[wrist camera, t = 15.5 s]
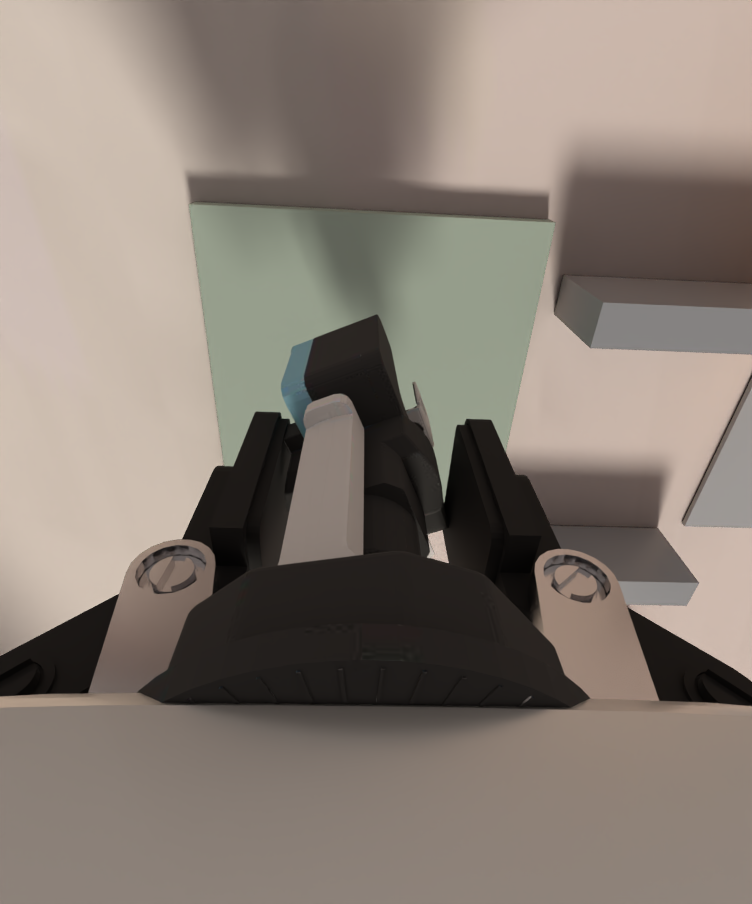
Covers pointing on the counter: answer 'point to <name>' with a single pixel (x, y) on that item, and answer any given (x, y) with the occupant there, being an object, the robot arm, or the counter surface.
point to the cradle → (743, 445)
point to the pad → (370, 305)
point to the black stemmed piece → (360, 568)
